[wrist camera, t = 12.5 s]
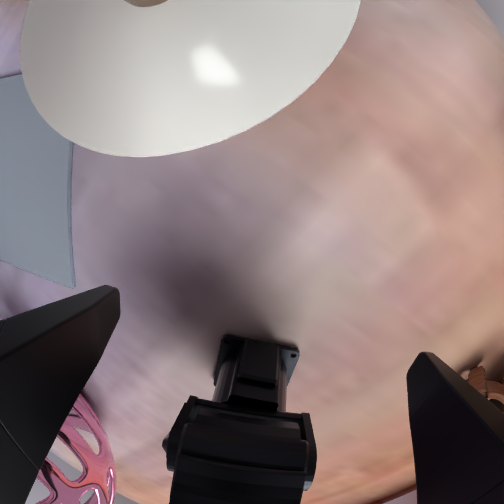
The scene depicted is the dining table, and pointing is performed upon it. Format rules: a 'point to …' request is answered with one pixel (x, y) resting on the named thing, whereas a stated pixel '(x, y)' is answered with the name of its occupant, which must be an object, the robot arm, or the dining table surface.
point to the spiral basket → (82, 462)
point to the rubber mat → (34, 189)
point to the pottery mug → (487, 387)
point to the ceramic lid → (173, 67)
